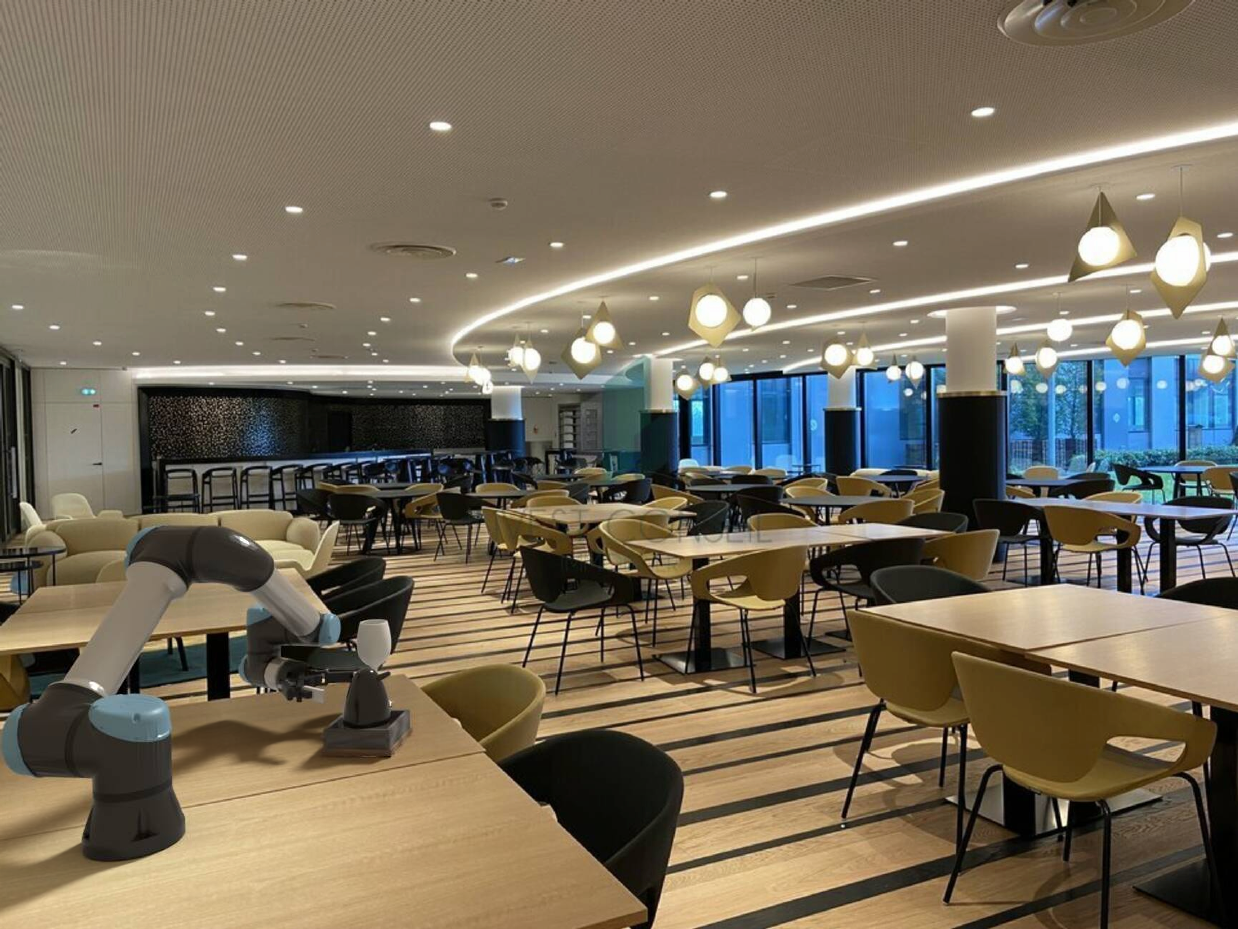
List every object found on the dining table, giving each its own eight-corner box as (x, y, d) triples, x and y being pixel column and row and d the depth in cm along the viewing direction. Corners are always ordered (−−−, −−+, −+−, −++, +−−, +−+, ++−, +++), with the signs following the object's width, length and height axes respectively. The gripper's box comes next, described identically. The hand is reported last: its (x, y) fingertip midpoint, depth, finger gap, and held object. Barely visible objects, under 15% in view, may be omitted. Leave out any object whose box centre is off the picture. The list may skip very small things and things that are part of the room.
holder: (391, 757, 186) (390, 730, 186) (320, 756, 187) (320, 730, 187) (412, 733, 201) (412, 709, 201) (347, 733, 202) (346, 709, 202)
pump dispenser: (385, 745, 189) (383, 673, 189) (336, 745, 189) (334, 674, 189) (398, 729, 199) (396, 661, 199) (351, 730, 199) (350, 662, 199)
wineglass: (398, 701, 227) (396, 618, 226) (386, 711, 218) (384, 625, 217) (365, 700, 227) (363, 618, 227) (351, 711, 219) (349, 625, 218)
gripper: (334, 679, 220) (393, 692, 208) (241, 705, 199) (301, 721, 187) (333, 649, 220) (392, 659, 208) (240, 672, 199) (300, 685, 187)
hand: (349, 689), depth 198 cm, fingers open, 13 cm apart
